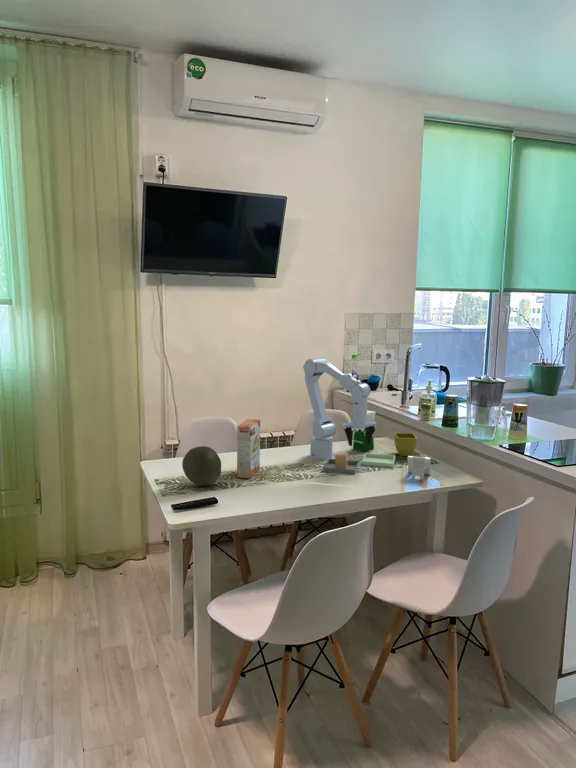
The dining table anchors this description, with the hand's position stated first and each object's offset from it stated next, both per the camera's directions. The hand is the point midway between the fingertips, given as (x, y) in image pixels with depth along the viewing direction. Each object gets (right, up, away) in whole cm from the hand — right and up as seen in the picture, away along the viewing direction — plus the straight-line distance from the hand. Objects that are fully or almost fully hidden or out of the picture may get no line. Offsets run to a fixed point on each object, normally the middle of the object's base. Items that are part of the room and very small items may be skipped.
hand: (358, 444), depth 239 cm
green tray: (+9, -9, +7) cm, 15 cm away
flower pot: (+23, -7, +20) cm, 31 cm away
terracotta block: (-7, -9, -2) cm, 12 cm away
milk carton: (+6, -5, +29) cm, 30 cm away
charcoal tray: (-7, -10, -2) cm, 13 cm away
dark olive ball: (-61, -13, -23) cm, 67 cm away
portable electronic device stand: (+23, -12, -9) cm, 27 cm away
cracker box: (-45, -11, -7) cm, 47 cm away
